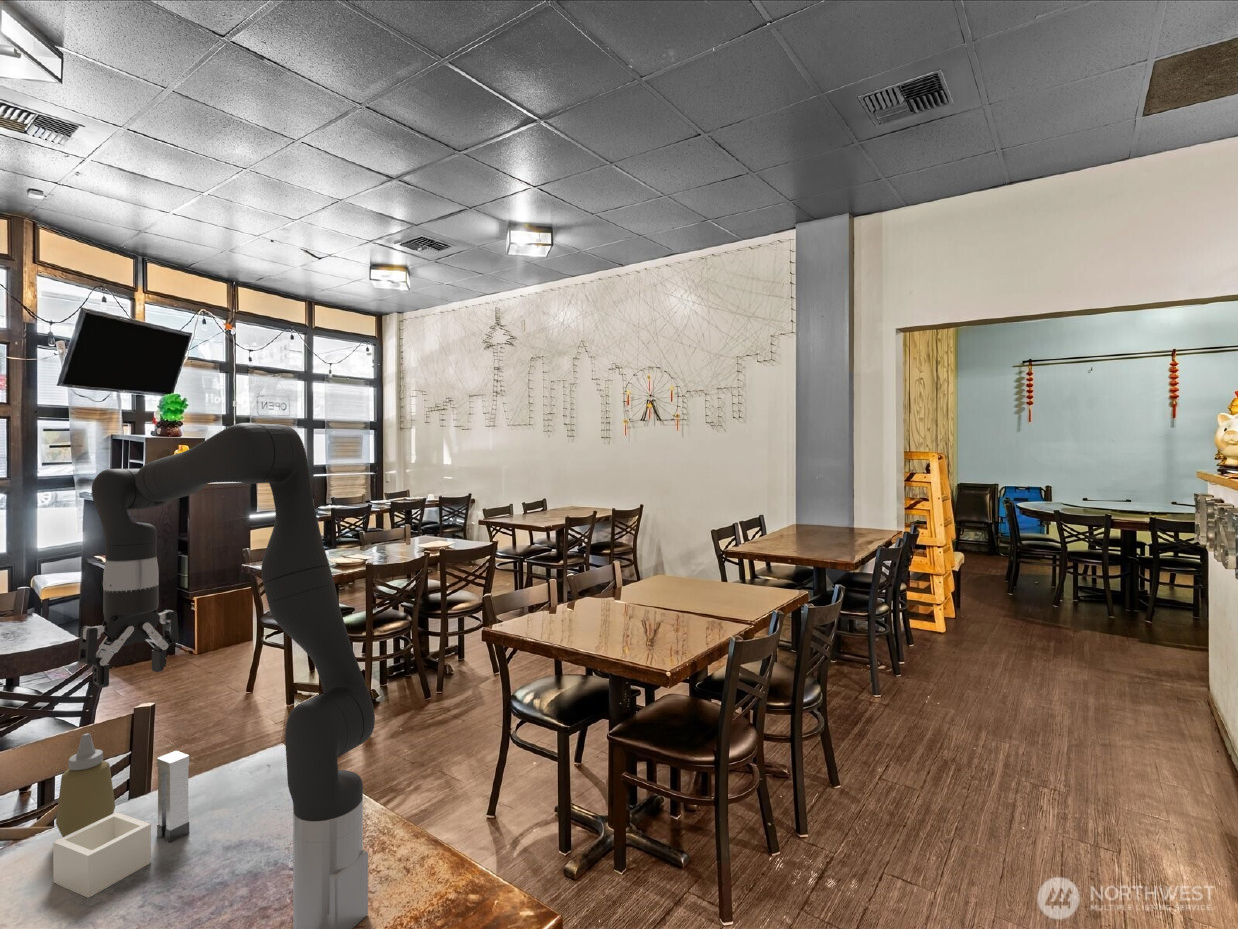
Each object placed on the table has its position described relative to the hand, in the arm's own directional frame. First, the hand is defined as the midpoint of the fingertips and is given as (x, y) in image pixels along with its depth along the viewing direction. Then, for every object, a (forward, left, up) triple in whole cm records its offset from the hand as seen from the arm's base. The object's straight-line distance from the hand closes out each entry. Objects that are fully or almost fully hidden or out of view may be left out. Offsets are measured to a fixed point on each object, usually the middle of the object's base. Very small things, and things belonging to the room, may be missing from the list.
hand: (131, 678), depth 108 cm
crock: (-3, +6, -29) cm, 30 cm away
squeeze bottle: (+11, +1, -30) cm, 31 cm away
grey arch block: (-3, -5, -29) cm, 30 cm away
